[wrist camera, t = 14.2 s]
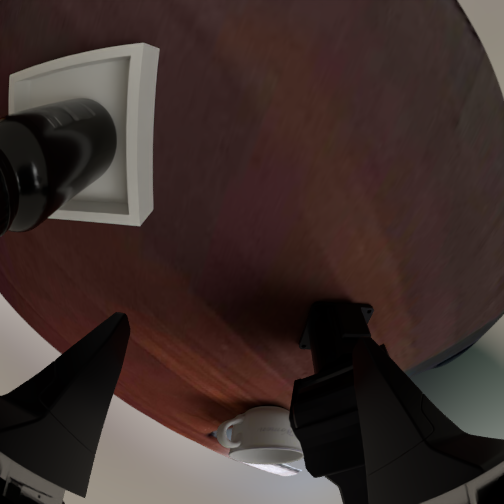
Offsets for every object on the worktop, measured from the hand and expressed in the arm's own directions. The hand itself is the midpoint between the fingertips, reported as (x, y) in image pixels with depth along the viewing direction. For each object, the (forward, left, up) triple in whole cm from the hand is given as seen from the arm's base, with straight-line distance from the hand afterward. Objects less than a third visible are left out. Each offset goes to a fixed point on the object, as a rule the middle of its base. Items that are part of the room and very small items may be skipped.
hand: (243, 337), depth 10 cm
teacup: (-32, -5, -13) cm, 35 cm away
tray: (+5, +14, -13) cm, 20 cm away
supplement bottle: (+4, +13, -12) cm, 19 cm away
